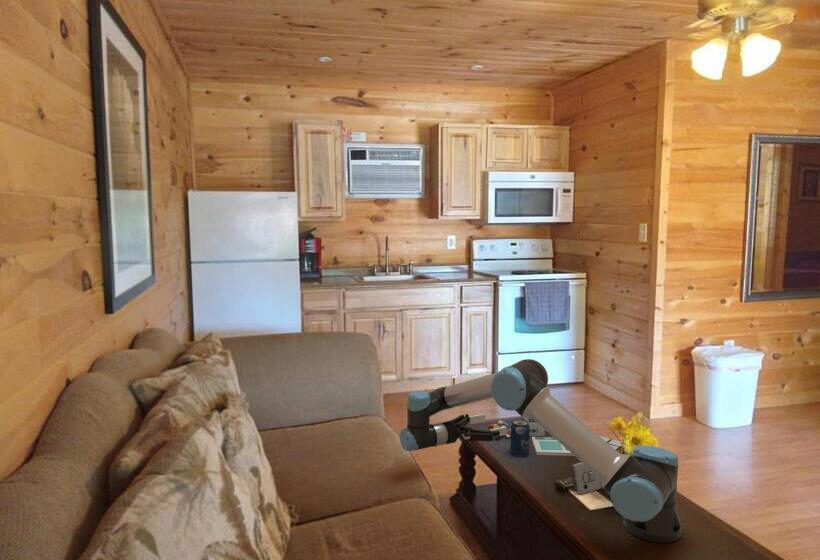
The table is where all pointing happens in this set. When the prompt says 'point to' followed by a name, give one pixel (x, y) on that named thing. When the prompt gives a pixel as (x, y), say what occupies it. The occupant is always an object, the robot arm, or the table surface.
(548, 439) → the white teal rectangular board
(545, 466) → the table surface
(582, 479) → the electrical switch
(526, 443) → the soda can
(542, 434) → the light bulb box
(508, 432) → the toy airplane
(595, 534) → the table surface
